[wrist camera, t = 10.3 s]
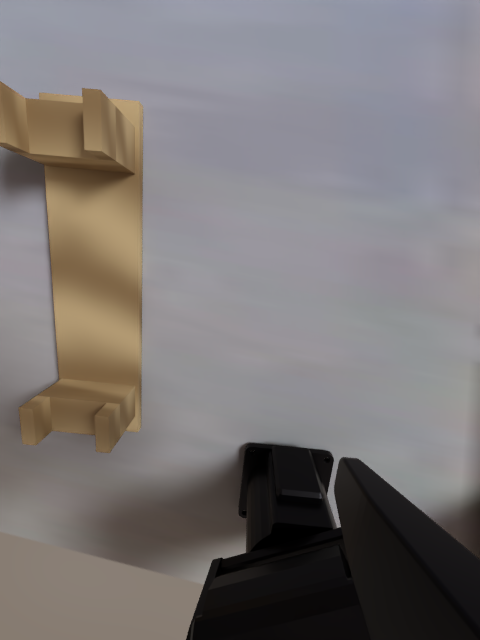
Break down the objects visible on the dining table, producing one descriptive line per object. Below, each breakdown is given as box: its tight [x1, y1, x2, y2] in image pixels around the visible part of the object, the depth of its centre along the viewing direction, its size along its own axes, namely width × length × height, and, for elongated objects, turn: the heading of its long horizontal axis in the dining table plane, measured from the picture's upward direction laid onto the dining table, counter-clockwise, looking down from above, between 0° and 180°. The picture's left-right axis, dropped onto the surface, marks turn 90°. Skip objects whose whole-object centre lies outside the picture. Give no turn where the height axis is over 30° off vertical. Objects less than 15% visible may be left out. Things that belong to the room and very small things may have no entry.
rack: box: [0, 81, 143, 453], centre depth 17 cm, size 21×6×4 cm, turn 175°
